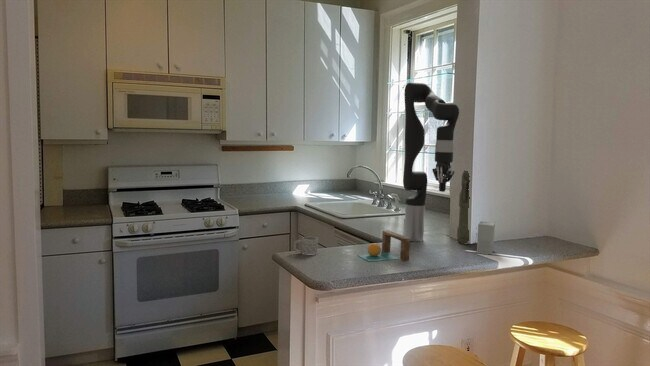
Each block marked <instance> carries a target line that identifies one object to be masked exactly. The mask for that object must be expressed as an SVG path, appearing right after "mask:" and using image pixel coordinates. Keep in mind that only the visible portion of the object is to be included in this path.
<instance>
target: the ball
mask: <svg viewBox="0 0 650 366" xmlns="http://www.w3.org/2000/svg"><path fill="white" fill-rule="evenodd" d="M380 253H382V247H381V246H380V245H379V244H378V243H376V242H373V243H370V244H369V245H368V247H367V254H369V255H371V256H378V255H379V254H380Z"/></svg>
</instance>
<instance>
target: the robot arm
mask: <svg viewBox="0 0 650 366" xmlns="http://www.w3.org/2000/svg"><path fill="white" fill-rule="evenodd" d="M403 94H404V95H403V96H404V110H405V112H404V113H405V124H404V125H405V127H404V129H405V130H404V163H403V164H404V166H403V177H402V183H403V184H402V185H403V188H404V190H405V191H409V192H410V191H413V192H414V191H416V192H415V193H414V194H413V195H411V196H408V197H406V199H405V205H404V206H405V209H404V210H405V211H404V212H405V213H404V219H403V233H402V234H403V235H402V236H405V237H408V238H410V242H422V241H424V232H425V214H426V213H425V209H426V199H427V189H428V175H427V173H426V171H421V170H419V171H413V169H414V168H413V167H414V164H415V161H416V159H417V158H418V156H419V154H420V152H421V151H422V150H423V147H424V145H425V137H426V135H425V128H424V125H423V124H422V122H421V120H420V119H419V116H418V115H417V113H416V108H415V103H418V104H419V103H424V105H425V108H426V109H427V110H428V111H430V112H431V113H432V115H433V117H434V119H436V120H438V121H446V124H445V125H441V126H438V127H437V128H436V139H435V149H434V162H435V163H436V164H435V167H434V168H432V170H431V171H432V173H433V176H434V178H435V181H438V191H439V192H446V188H447V183H448V182H450V181H451V179H452V178H453V176H454V175H455V170H452V165H451V163H454V162H453V161H454V131H455V128H456V126H457V121H458V119H459V116H460V109H459V107H458V105H457V104H455V103H446V101H445V100H444V99H442V98H440V97H439V96H438V95H437V94H435V92H434V91H433V90H432V88H430V86H429V85H428V84H426V83H424V82H407V83H406V85H405V88H404V93H403Z"/></svg>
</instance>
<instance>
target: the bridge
mask: <svg viewBox="0 0 650 366" xmlns="http://www.w3.org/2000/svg"><path fill="white" fill-rule="evenodd" d="M381 236H382V239H381V240H382V241H381V253H391V246H392V245H391V242H392V241H391V240H392V239H391V238H393V239H396V240H398V241H400V257H399V261H401V262H409V261H410V250H411V241H410V238H408V237H405V236H403V235H402V234H399V233H396V232H394V231H391V230H389V229H388V230H382V235H381Z"/></svg>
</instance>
